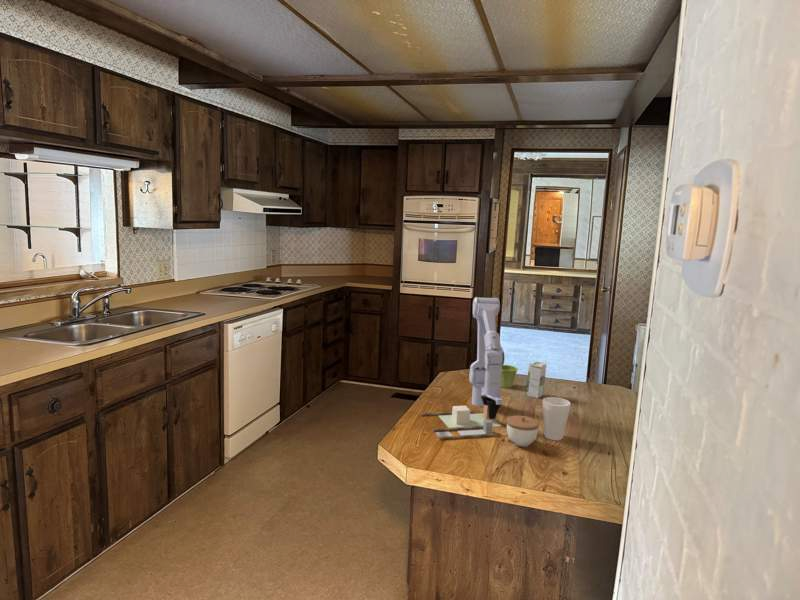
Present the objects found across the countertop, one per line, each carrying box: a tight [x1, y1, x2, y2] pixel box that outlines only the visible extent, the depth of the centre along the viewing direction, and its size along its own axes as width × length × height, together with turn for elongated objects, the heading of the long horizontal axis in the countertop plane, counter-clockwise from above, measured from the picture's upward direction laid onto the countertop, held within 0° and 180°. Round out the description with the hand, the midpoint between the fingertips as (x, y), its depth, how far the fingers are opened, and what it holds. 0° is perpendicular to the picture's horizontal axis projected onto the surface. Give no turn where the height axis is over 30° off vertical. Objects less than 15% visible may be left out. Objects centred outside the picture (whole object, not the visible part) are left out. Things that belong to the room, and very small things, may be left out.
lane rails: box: [420, 410, 499, 441], centre depth 199 cm, size 21×23×2 cm
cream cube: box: [451, 405, 471, 424], centre depth 203 cm, size 5×5×5 cm
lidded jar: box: [506, 415, 540, 447], centre depth 188 cm, size 11×11×9 cm
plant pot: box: [500, 364, 519, 389], centre depth 250 cm, size 9×9×9 cm
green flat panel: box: [438, 405, 502, 428], centre depth 204 cm, size 20×13×6 cm, turn 104°
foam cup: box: [541, 396, 572, 441], centre depth 194 cm, size 10×9×13 cm
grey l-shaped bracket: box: [457, 420, 493, 436], centre depth 193 cm, size 12×5×5 cm, turn 105°
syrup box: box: [525, 361, 547, 399], centre depth 238 cm, size 6×6×14 cm
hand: (490, 416), depth 206 cm, fingers closed on green flat panel, 3 cm apart
